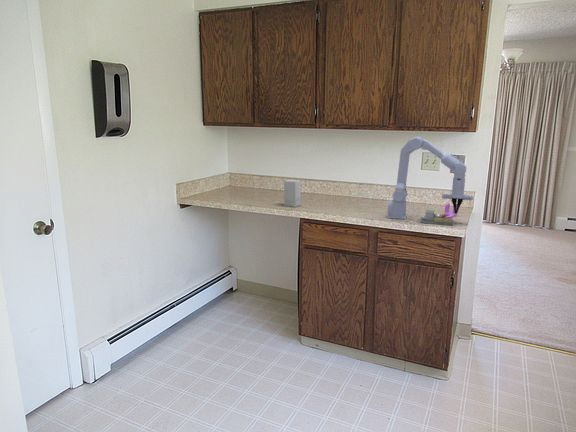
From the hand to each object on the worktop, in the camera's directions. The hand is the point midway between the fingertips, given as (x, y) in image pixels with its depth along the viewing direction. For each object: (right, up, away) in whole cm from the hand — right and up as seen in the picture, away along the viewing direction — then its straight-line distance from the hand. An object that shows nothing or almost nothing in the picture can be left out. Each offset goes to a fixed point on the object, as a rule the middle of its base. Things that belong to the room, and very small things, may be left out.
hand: (455, 213), depth 224 cm
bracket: (+2, -2, +15) cm, 16 cm away
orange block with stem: (-7, -3, +4) cm, 9 cm away
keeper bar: (-8, -4, -3) cm, 9 cm away
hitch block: (-10, -4, +5) cm, 12 cm away
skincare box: (-84, +4, +40) cm, 93 cm away
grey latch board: (-9, -5, +3) cm, 10 cm away
